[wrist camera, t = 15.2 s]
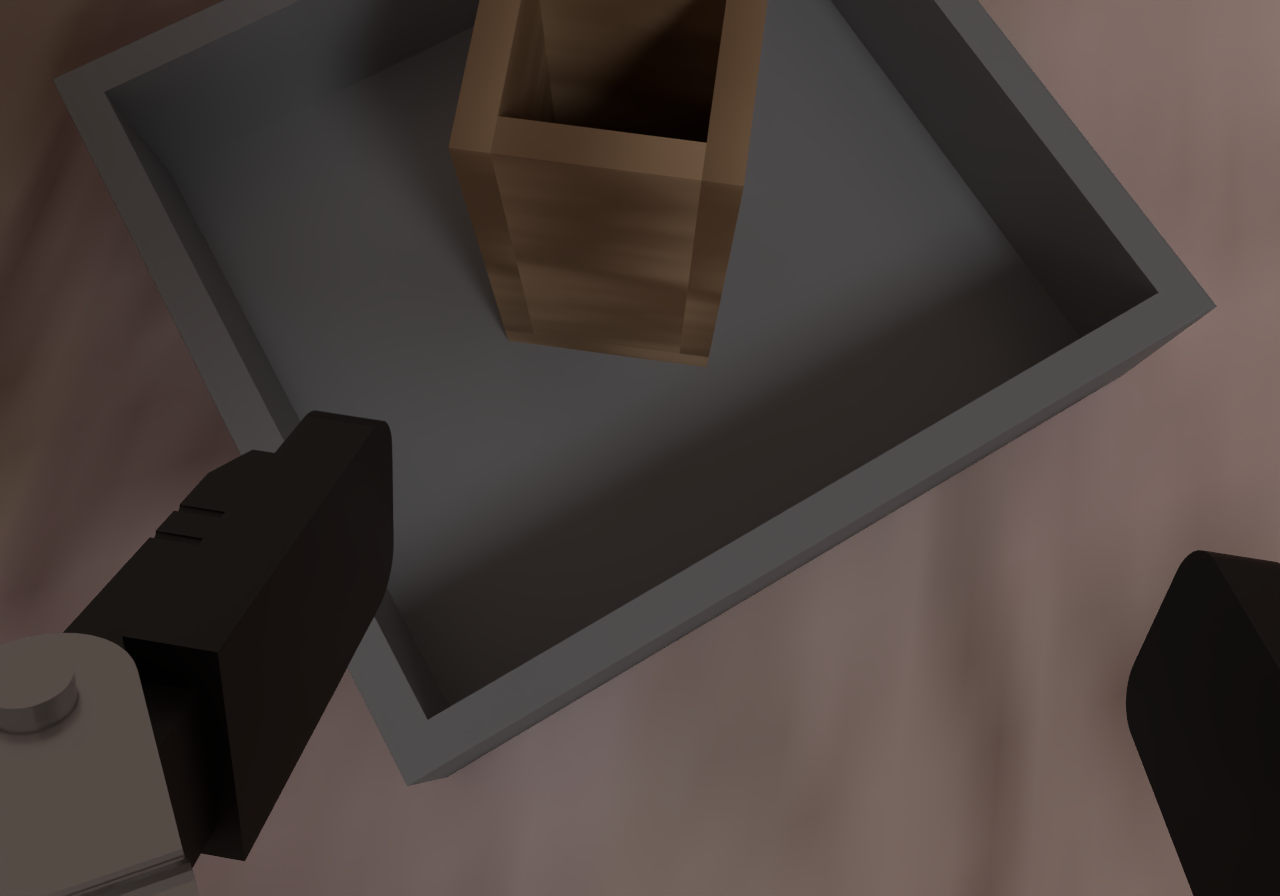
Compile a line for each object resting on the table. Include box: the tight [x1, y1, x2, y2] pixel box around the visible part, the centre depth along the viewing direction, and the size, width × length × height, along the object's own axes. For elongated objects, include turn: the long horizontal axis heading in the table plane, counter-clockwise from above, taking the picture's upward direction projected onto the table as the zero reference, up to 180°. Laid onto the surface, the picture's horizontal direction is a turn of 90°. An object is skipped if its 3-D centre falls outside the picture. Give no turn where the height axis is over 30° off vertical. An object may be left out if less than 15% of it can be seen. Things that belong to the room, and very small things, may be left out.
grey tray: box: [53, 0, 1217, 786], centre depth 29 cm, size 22×20×5 cm
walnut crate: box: [448, 0, 767, 367], centre depth 25 cm, size 6×6×10 cm
